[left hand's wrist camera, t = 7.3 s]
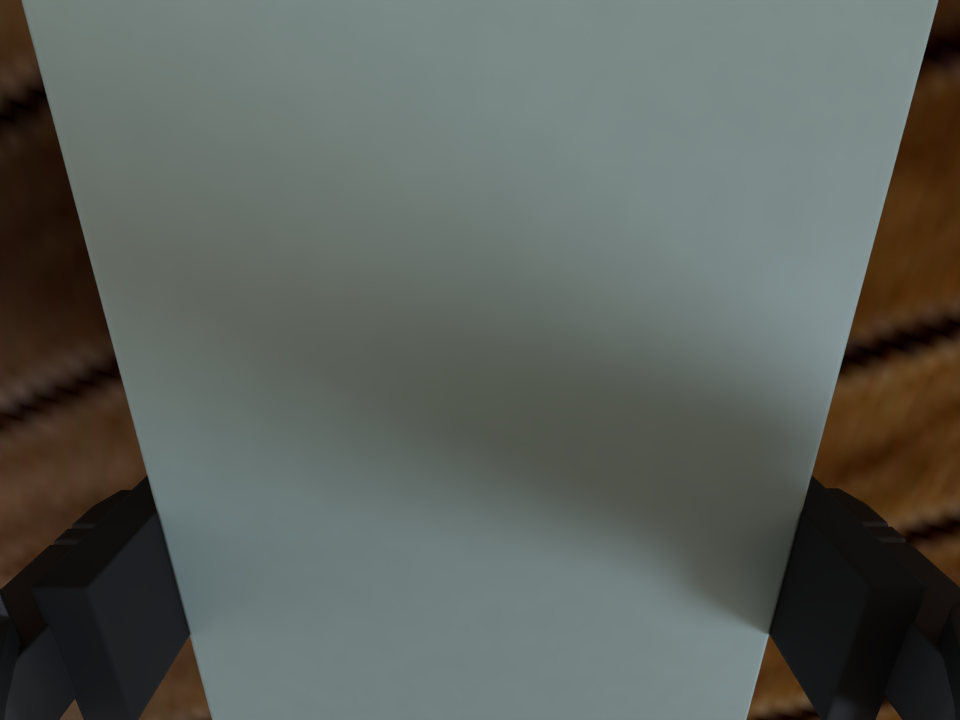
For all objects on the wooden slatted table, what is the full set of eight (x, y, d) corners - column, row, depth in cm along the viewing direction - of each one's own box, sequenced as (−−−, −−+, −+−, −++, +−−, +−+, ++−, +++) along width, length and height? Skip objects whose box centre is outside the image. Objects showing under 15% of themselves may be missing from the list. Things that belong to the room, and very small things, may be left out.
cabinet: (256, -235, 12) (-318, -1255, 3) (702, -234, 12) (1277, -1246, 3) (335, 464, 19) (212, 728, 10) (622, 464, 19) (746, 727, 10)
